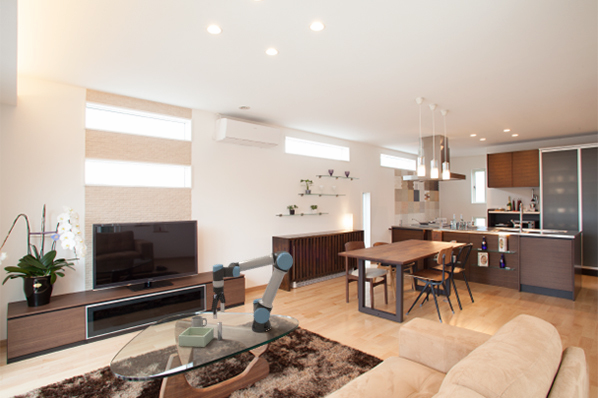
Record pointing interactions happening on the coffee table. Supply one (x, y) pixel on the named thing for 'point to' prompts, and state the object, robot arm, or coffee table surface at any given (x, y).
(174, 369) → the coffee table surface
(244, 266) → the robot arm
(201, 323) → the mug
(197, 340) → the box
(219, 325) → the peg
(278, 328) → the coffee table surface
